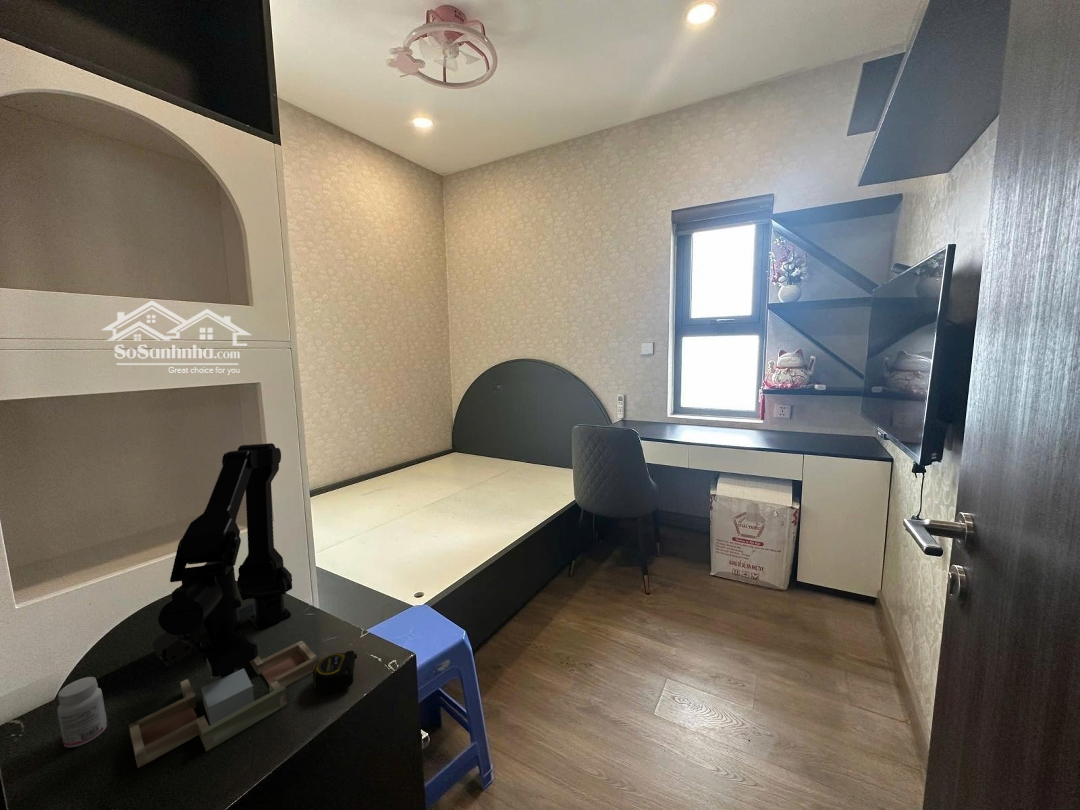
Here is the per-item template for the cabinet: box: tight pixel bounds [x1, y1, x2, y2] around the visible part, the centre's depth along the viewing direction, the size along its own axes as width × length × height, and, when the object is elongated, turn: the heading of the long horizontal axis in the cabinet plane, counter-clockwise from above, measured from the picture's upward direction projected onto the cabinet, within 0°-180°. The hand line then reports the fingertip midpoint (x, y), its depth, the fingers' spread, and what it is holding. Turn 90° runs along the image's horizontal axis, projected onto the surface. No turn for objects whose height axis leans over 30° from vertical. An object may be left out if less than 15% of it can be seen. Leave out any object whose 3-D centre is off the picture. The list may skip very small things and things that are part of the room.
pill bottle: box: [57, 676, 108, 748], centre depth 66 cm, size 5×5×8 cm
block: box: [201, 668, 255, 726], centre depth 71 cm, size 6×6×4 cm
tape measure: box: [312, 650, 358, 694], centre depth 76 cm, size 7×7×4 cm
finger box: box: [128, 640, 320, 769], centre depth 73 cm, size 18×25×3 cm
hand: (226, 680), depth 75 cm, fingers closed
